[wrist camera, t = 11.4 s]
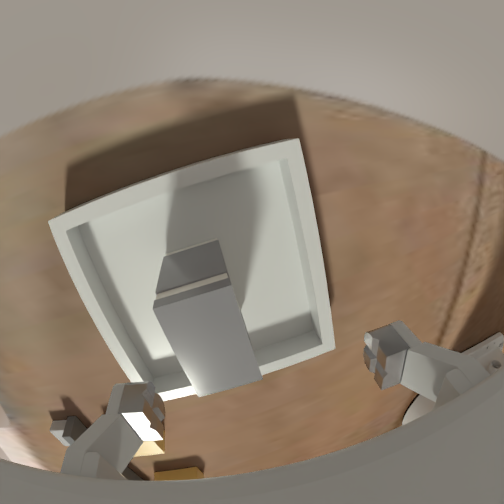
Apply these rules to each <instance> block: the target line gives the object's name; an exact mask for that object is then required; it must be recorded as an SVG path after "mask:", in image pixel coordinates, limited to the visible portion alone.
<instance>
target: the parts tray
mask: <svg viewBox="0 0 504 504" xmlns="http://www.w3.org/2000/svg"><path fill="white" fill-rule="evenodd" d="M48 223H49V226H50V228H51V231H52V234H53V236H54V239H55V241H56V244H57V246H58V249H59V251H60V253H61V256H62V258H63V260H64V263H65V265H66V267H67V269H68V271H69V274H70V276H71V278H72V280H73V282H74V284H75V286H76V288H77V290H78V292H79V294H80V296H81V298H82V300H83V302H84V304H85V306H86V308H87V310H88V312H89V314H90V315H91V317H92V319H93V321H94V323H95V325H96V326H97V328H98V330H99V332H100V333H101V335H102V337H103V339H104V340H105V342H106V344H107V345H108V347H109V349H110V350H111V352H112V353H113V355H114V357H115V358H116V360H117V361H118V363H119V364H120V366H121V368H122V369H123V371H124V372H125V374H126V375H127V377H128V378H129V380H130V381H131V383H132V382H144V381H151V382H152V383H153V384H154V386H155V393H157V394H159V395H160V396H161V398H162V400H163V401H166V400H171V399H175V398H180V397H184V396H188V395H192V394H196V391H195V390H194V388H193V386H192V384H191V383H190V381H189V379H188V377H187V376H186V374H185V372H184V370H183V368H182V366H181V365H180V363H179V361H178V359H177V357H176V355H175V353H174V351H173V350H172V348H171V346H170V344H169V342H168V340H167V338H166V336H165V334H164V332H163V330H162V328H161V326H160V324H159V322H158V320H157V317H156V315H155V313H154V311H153V304H154V300H156V296H157V295H156V293H155V292H156V287H157V283H158V278H159V274H160V269H161V265H162V261H163V257H164V256H165V255H166V254H168V253H171V252H174V251H177V250H180V249H184V248H187V247H190V246H193V245H196V244H200V243H203V242H206V241H209V240H212V239H216V238H217V239H218V240H219V243H220V247H221V250H222V253H223V257H224V260H225V264H226V267H227V271H228V274H229V277H230V281H231V284H232V287H233V290H234V293H235V296H236V299H237V302H238V305H239V308H240V310H241V313H242V316H243V319H244V322H245V325H246V328H247V331H248V335H249V338H250V341H251V344H252V347H253V350H254V353H255V356H256V360H257V363H258V366H259V369H260V372H261V375H264V374H267V373H270V372H273V371H276V370H279V369H282V368H285V367H288V366H290V365H293V364H296V363H299V362H302V361H304V360H307V359H310V358H312V357H315V356H318V355H320V354H323V353H325V352H328V351H331V350H333V349H335V342H334V333H333V325H332V317H331V309H330V302H329V295H328V288H327V281H326V275H325V268H324V262H323V256H322V250H321V244H320V238H319V233H318V227H317V222H316V216H315V211H314V206H313V201H312V196H311V191H310V186H309V181H308V176H307V172H306V167H305V163H304V158H303V154H302V149H301V145H300V141H299V138H296V139H284V140H279V141H275V142H271V143H266V144H262V145H258V146H254V147H250V148H246V149H243V150H239V151H235V152H231V153H228V154H224V155H220V156H217V157H213V158H210V159H207V160H203V161H200V162H197V163H193V164H190V165H187V166H184V167H181V168H177V169H174V170H171V171H168V172H165V173H162V174H159V175H156V176H154V177H151V178H148V179H145V180H142V181H139V182H137V183H134V184H131V185H128V186H126V187H123V188H120V189H118V190H115V191H113V192H110V193H108V194H105V195H103V196H100V197H98V198H95V199H93V200H90V201H88V202H86V203H83V204H81V205H78V206H76V207H74V208H72V209H69V210H67V211H65V212H63V213H61V214H60V215H58V216H56V217H54V218H53V219H51V220H49V221H48Z"/></svg>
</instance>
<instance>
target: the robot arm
mask: <svg viewBox="0 0 504 504" xmlns="http://www.w3.org/2000/svg"><path fill="white" fill-rule="evenodd" d="M364 341H365V343H366V344H367V345H366V346H365V348H364V353H363V356H364V361H365V364H366V366H367V368H368V370H369V371H370V372H373V373H375V376H374V379H375V381H376V383H377V384H378V386H379V387H380V389H381V390H383V389H386V388H389V387H391V386H394V385H397V384H399V383H401V385H403V386H405V387H407V388H409V389H411V390H413V391H415V392H416V393H418V394H420V395H419V396H418V397H417V398H416V400H415V401H414V402H413V403H412V405H411V406H410V408H409V409H408V411H407V413H406V414H405V416H404V419H403V422H402V426H400V427H398V428H396V429H393V430H391V431H389V432H386V433H384V434H382V435H379V436H377V437H374V438H372V439H369V440H367V441H364V442H361V443H359V444H356V445H353V446H350V447H347V448H345V449H342V450H339V451H335V452H332V453H329V454H326V455H323V456H319V457H316V458H312V459H309V460H305V461H301V462H297V463H293V464H289V465H285V466H280V467H276V468H271V469H266V470H261V471H255V472H250V473H243V474H237V475H230V476H222V477H213V478H203V479H190V480H170V481H134V480H128V479H126V478H125V477H124V476H123V475H122V472H123V471H124V469H125V468H126V467H127V465H128V464H129V462H130V461H131V459H132V458H133V457H134V455H135V454H136V452H137V451H138V449H139V448H140V446H141V445H142V444H143V441H155V440H163V432H164V426H163V424H162V423H161V421H162V420H163V419H164V418H165V407H164V403H163V400H162V398H161V396H160V395H159V394H157V393H155V386H154V384H153V383H152V382H151V381H144V382H132V383H122V384H115V385H114V386H113V389H112V392H111V396H110V399H109V403H108V407H107V410H106V414H105V415H101V416H100V417H99V418H98V419H97V420H96V421H95V422H94V423H93V424H92V425H91V426H90V427H89V428H88V429H87V430H86V431H85V432H84V433H83V434H82V435H81V436H80V437H79V438H78V439H77V440H76V441H75V442H74V443H73V444H71V445H70V446H69V447H68V448H67V450H66V454H65V457H64V461H63V465H62V468H61V472H60V473H58V472H52V471H47V470H42V469H38V468H33V467H29V466H25V465H21V464H18V463H14V462H11V461H7V460H4V459H0V504H504V354H503V353H502V348H503V343H504V336H503V334H502V333H501V332H498V333H497V334H495V335H493V336H491V337H490V338H488V339H486V340H485V341H483V342H481V343H479V344H477V345H476V346H474V347H472V348H470V349H468V350H466V351H464V352H462V353H459V352H455V351H452V350H449V349H446V348H443V347H439V346H436V345H433V344H430V343H427V342H424V343H422V342H421V341H420V340H419V339H418V338H417V337H416V336H415V335H414V334H413V333H412V332H411V330H410V329H409V328H408V327H407V326H406V325H405V324H404V323H403V322H402V321H400V320H398V321H396V322H393V323H391V324H388V325H385V326H383V327H380V328H377V329H374V330H371V331H368V332H366V333H365V335H364Z"/></svg>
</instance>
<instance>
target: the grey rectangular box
mask: <svg viewBox="0 0 504 504" xmlns="http://www.w3.org/2000/svg"><path fill="white" fill-rule="evenodd" d="M155 293H156V295H157V296H156V300H154V304H153V311H154V313H155V315H156V317H157V320H158V322H159V324H160V326H161V328H162V330H163V332H164V334H165V336H166V338H167V340H168V342H169V344H170V346H171V348H172V350H173V351H174V353H175V355H176V357H177V359H178V361H179V363H180V365H181V366H182V368H183V370H184V372H185V374H186V376H187V377H188V379H189V381H190V383H191V384H192V386H193V388H194V390H195V391H196V393H197V395H198V397H201V396H205V395H209V394H213V393H217V392H220V391H224V390H228V389H231V388H235V387H238V386H242V385H245V384H249V383H252V382H255V381H258V380H262V379H263V378H262V375H261V372H260V369H259V366H258V363H257V360H256V356H255V353H254V350H253V347H252V344H251V341H250V338H249V335H248V331H247V328H246V325H245V322H244V319H243V316H242V313H241V310H240V308H239V305H238V302H237V299H236V296H235V293H234V290H233V287H232V284H231V281H230V277H229V274H228V271H227V267H226V264H225V260H224V257H223V253H222V250H221V247H220V243H219V240H218V239H217V238H216V239H212V240H209V241H206V242H203V243H200V244H196V245H193V246H190V247H187V248H184V249H180V250H177V251H174V252H171V253H168V254H166V255H165V256H164V257H163V261H162V265H161V269H160V274H159V278H158V283H157V287H156V292H155Z"/></svg>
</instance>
